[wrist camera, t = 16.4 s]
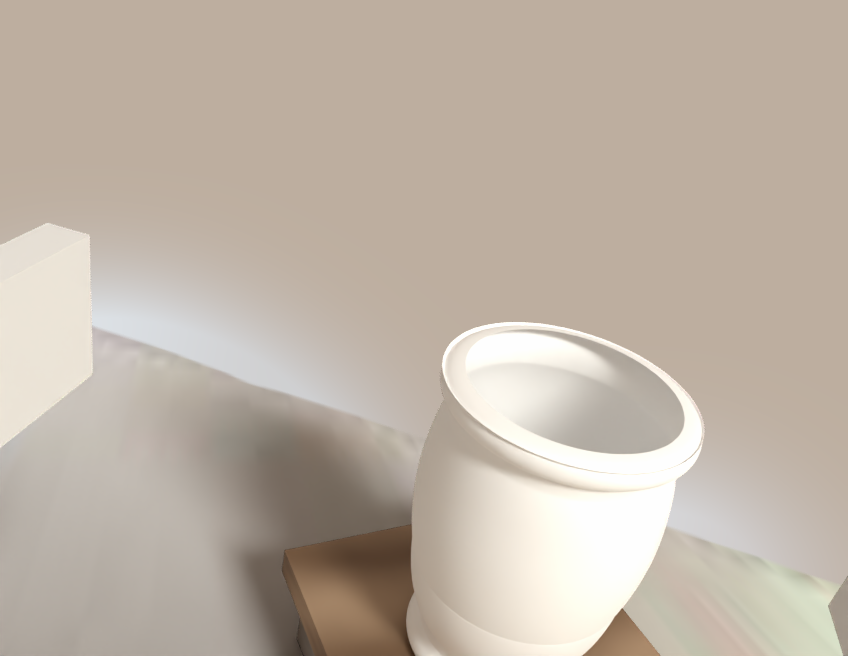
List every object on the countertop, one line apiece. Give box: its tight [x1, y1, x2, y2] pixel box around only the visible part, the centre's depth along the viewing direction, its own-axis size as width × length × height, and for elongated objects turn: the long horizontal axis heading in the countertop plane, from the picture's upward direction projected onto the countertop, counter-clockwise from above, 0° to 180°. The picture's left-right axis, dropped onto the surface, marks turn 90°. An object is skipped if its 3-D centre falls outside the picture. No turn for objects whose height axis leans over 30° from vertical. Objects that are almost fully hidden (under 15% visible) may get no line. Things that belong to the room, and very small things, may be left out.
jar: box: [406, 322, 705, 656], centre depth 34 cm, size 11×10×15 cm
